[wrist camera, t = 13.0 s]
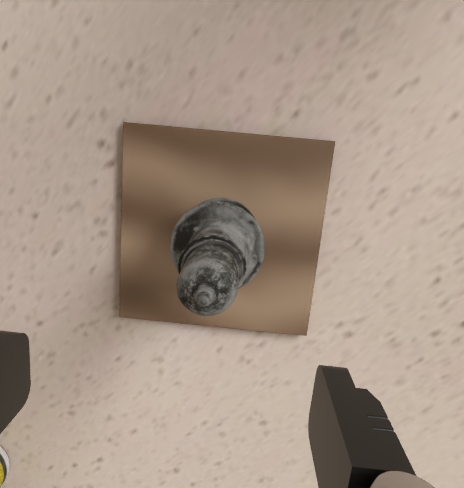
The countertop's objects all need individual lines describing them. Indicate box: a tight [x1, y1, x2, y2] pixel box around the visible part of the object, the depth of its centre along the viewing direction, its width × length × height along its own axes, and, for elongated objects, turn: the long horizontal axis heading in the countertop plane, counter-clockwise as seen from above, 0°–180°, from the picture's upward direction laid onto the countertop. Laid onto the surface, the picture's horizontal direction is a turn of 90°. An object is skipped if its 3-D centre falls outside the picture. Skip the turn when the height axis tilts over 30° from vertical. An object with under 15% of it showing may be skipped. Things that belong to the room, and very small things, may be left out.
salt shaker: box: [170, 198, 265, 316], centre depth 23 cm, size 6×6×12 cm
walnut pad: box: [119, 122, 335, 336], centre depth 29 cm, size 14×14×1 cm
